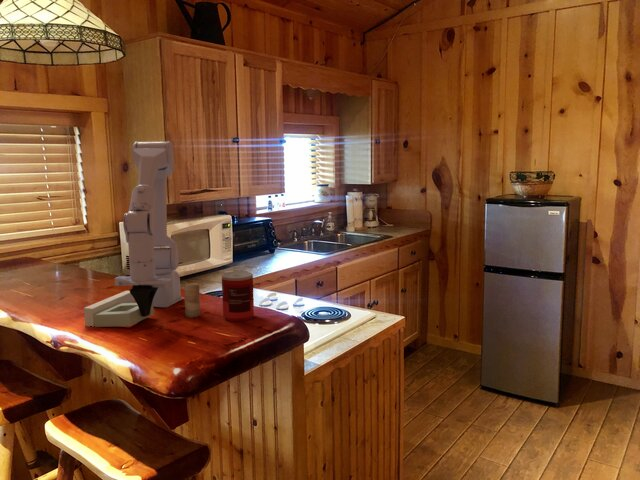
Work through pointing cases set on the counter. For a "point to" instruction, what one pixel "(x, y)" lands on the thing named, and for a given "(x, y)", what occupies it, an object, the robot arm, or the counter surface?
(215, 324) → the counter surface
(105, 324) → the socket block
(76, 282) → the counter surface
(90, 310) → the wall board
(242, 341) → the counter surface
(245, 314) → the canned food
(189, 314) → the dowel
